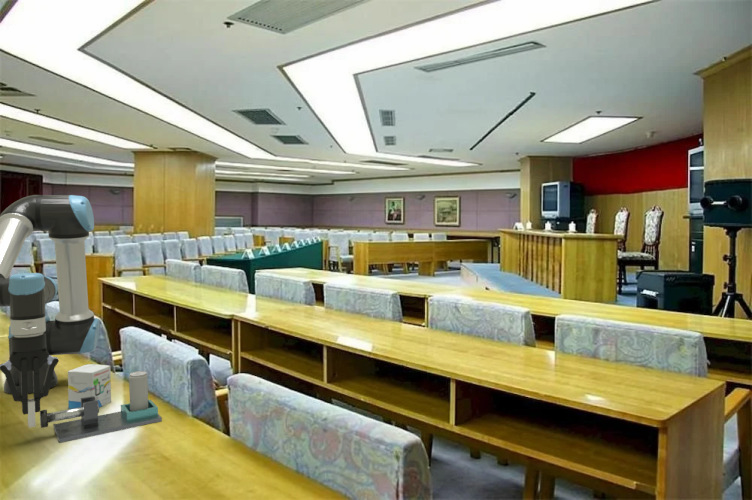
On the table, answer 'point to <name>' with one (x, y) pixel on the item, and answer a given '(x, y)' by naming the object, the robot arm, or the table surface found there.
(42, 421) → the shaft
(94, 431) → the bolt fixture plate
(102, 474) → the table surface
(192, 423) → the table surface
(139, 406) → the beverage can
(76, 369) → the ink box
